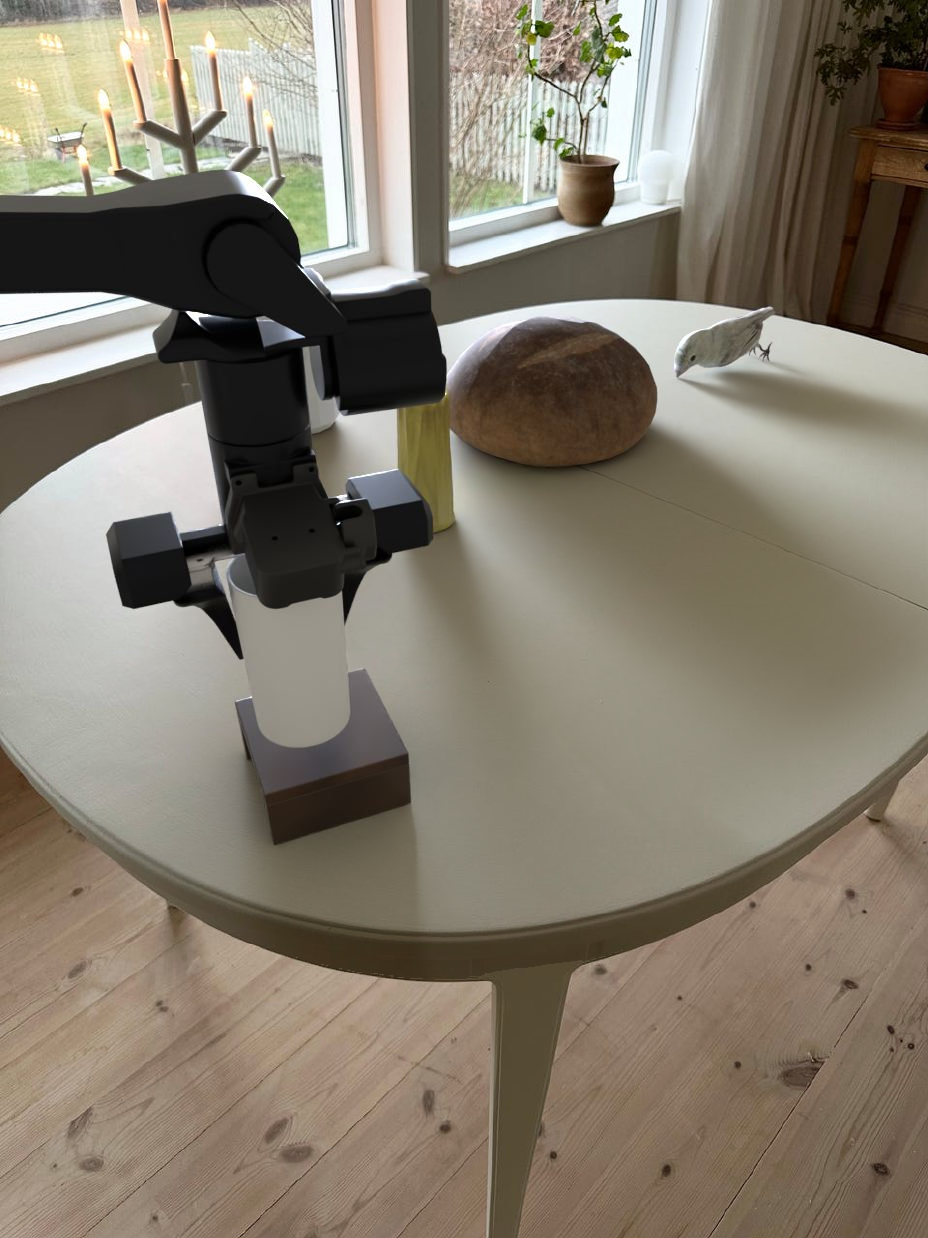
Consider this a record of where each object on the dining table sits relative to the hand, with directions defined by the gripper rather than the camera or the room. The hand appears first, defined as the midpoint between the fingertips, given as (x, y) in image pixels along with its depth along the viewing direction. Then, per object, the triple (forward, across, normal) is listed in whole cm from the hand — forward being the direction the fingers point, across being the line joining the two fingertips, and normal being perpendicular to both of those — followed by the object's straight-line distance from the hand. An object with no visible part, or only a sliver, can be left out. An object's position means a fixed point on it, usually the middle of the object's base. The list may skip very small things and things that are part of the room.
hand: (289, 644), depth 61 cm
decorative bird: (+12, +75, +55) cm, 94 cm away
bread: (+12, +43, +48) cm, 66 cm away
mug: (+5, 0, 0) cm, 5 cm away
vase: (+13, +21, +32) cm, 40 cm away
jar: (+13, +15, +61) cm, 64 cm away
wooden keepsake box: (+12, +1, 0) cm, 12 cm away
